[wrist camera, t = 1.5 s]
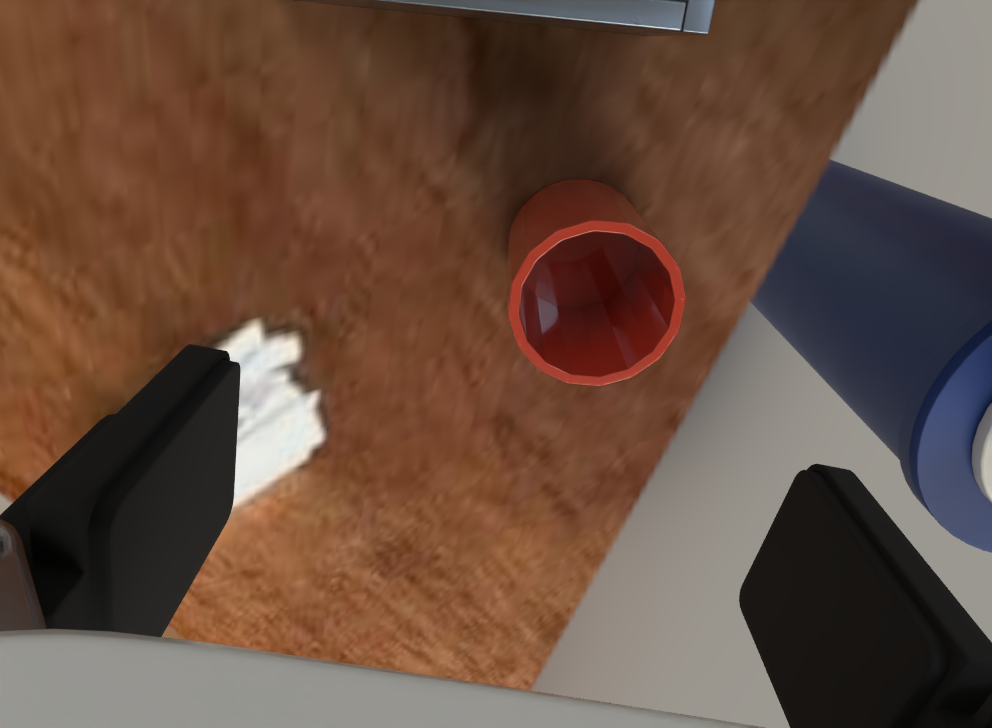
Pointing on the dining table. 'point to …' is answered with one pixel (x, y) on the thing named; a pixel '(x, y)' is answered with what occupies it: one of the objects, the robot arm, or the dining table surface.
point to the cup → (590, 285)
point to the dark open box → (567, 13)
